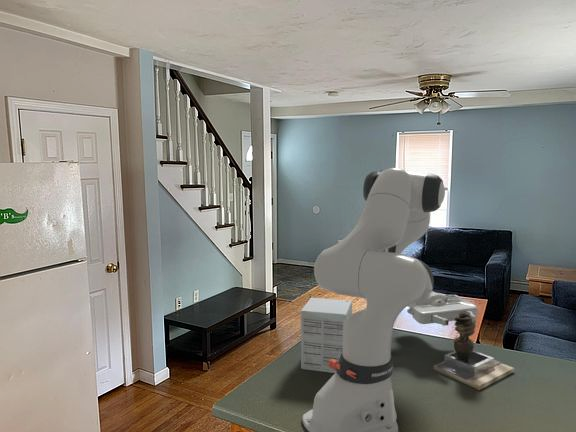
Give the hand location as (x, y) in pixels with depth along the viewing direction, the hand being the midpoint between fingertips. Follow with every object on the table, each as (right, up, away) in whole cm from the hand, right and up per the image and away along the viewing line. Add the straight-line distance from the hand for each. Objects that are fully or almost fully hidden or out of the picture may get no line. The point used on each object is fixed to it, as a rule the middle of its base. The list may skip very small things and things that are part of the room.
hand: (460, 321), depth 127 cm
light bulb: (0, -12, -3) cm, 12 cm away
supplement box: (-39, -13, +2) cm, 41 cm away
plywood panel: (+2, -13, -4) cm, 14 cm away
